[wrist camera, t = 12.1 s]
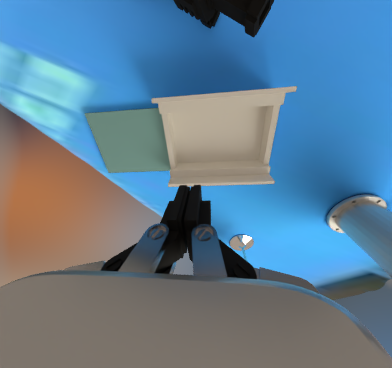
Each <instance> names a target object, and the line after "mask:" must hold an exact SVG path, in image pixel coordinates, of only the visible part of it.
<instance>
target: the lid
mask: <svg viewBox="0 0 392 368" xmlns="http://www.w3.org/2000/svg"><path fill="white" fill-rule="evenodd" d="M85 116H86V118H87V121H88V123H89V126H90V128H91V131H92V133H93V135H94V138H95V140H96V143H97V145H98V148H99V150H100V153H101V155H102V157H103V160H104V162H105V165H106V167H107V170H108V172H109V173H118V172H145V171H170V169H171V167H170V161H169V155H168V150H167V144H166V138H165V132H164V126H163V120H162V114H160V112H159V108H150V109H136V110H123V111H110V112H97V113H85Z"/></svg>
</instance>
